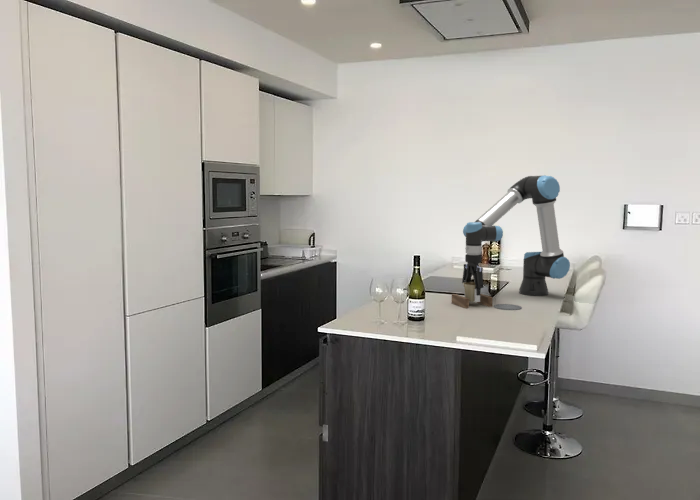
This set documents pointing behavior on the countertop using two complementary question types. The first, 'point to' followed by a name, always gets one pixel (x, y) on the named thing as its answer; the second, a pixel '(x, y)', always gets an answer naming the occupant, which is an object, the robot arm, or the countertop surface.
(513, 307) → the disc
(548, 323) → the countertop surface
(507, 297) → the countertop surface
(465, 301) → the slot holder
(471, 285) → the flower pot
